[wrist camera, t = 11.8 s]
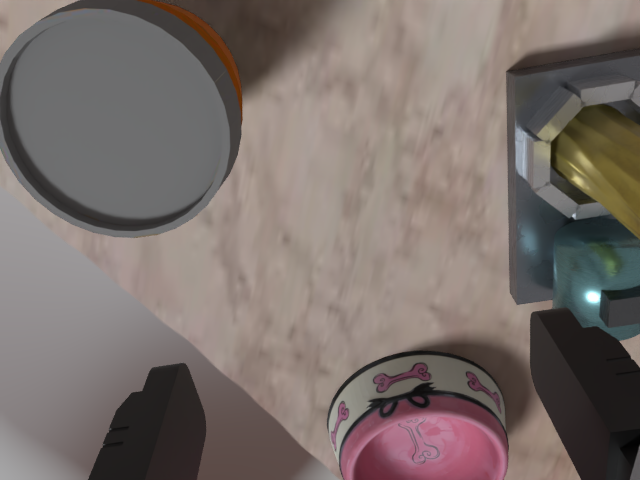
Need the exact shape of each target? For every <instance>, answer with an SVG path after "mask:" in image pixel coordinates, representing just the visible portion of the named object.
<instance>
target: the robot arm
mask: <svg viewBox="0 0 640 480" xmlns="http://www.w3.org/2000/svg"><path fill="white" fill-rule="evenodd" d="M530 368H531V375H532V379H533V383H534V386H535V389H536V391H537V393H538V395H539V397H540V399H541V401H542V403H543V405H544V407H545V409H546V411H547V413H548V415H549V417H550V419H551V421H552V423H553V425H554V427H555V429H556V431H557V433H558V435H559V437H560V439H561V441H562V443H563V445H564V447H565V449H566V451H567V452H568V454H569V456H570V458H571V460H572V462H573V464H574V466H575V468H576V470H577V472H578V474H579V476H580V478H581V480H640V368H639V366H638V365H637V364H636V362H635V361H634V360H632V359H631V356H630V355H629V353H628V352H627V351H626V350H625V348H624V347H623V346H622V344H621V343H620V342H619V341H618V339H616V338H615V337H613V336H612V335H610V334H608V333H607V332H605V331H604V330H602V329H600V328H599V327H597V326H593V327H586V328H583V327H582V326H581V324H580V323H579V322H578V320H577V319H576V317H575V316H574V315H573V313H572V312H571V311H570V309H569V308H567V307H563V308H556V309H550V310H543V311H536V312H532V314H531V318H530ZM205 437H206V420H205V414H204V410H203V407H202V404H201V402H200V399H199V396H198V393H197V390H196V388H195V385H194V382H193V379H192V377H191V374H190V371H189V369H188V367H187V365H186V364H184V363H180V364H173V365H166V366H159V367H154V368H152V369H151V370H150V372H149V374H148V377H147V380H146V383H145V385H144V388H143V391H140V392H133V393H131V394H130V395H129V397H128V398H127V399H126V400H125V401H124V402H123V404H122V405H121V406H120V407H119V408H118V409H117V411H116V413H115V415H114V418H113V420H112V423H111V425H110V428H109V433H107V435H106V437H105V440H104V442H103V448H101V450H100V452H99V454H98V457H97V459H96V462H95V464H94V467H93V469H92V471H91V474H90V476H89V479H88V480H197V475H198V471H199V466H200V461H201V456H202V451H203V447H204V442H205Z"/></svg>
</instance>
